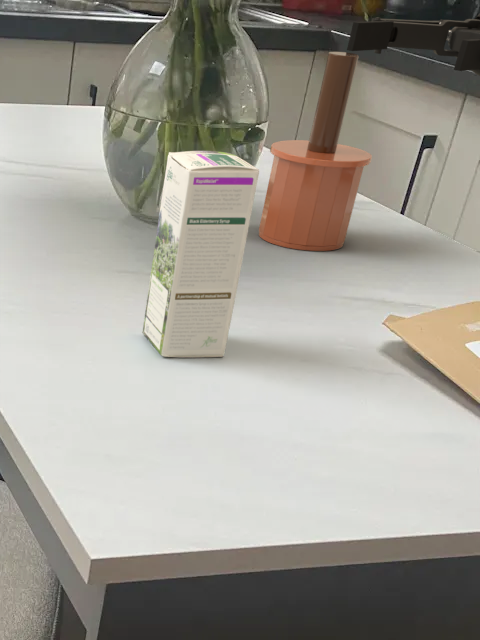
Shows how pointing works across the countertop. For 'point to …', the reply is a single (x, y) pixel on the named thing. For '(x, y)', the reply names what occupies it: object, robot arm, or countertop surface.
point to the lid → (328, 121)
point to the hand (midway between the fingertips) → (404, 45)
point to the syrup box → (198, 252)
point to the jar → (308, 205)
